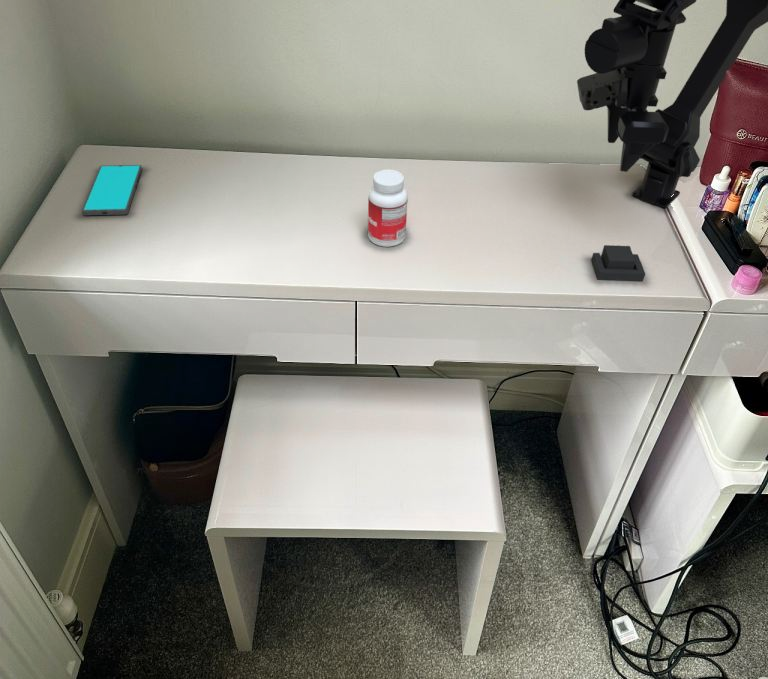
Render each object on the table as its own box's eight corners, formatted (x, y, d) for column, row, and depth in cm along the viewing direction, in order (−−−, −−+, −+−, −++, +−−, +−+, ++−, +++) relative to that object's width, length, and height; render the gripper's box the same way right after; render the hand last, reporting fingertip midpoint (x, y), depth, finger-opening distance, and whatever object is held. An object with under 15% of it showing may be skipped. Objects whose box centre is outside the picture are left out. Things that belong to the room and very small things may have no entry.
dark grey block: (599, 260, 112) (604, 244, 110) (624, 261, 112) (629, 245, 110) (604, 276, 109) (609, 260, 107) (630, 276, 109) (635, 261, 107)
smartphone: (81, 211, 116) (100, 165, 127) (82, 215, 117) (101, 169, 128) (127, 210, 117) (142, 164, 128) (128, 214, 117) (143, 169, 128)
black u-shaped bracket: (591, 260, 112) (593, 252, 111) (635, 261, 112) (637, 254, 111) (597, 279, 108) (599, 272, 107) (642, 281, 108) (645, 273, 107)
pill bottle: (366, 226, 117) (367, 167, 109) (403, 225, 117) (406, 166, 110) (369, 248, 112) (370, 188, 105) (407, 247, 113) (411, 187, 105)
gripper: (577, 32, 108) (557, 127, 119) (601, 83, 94) (576, 185, 105) (649, 34, 108) (623, 129, 119) (684, 86, 94) (651, 188, 105)
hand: (617, 156), depth 112 cm, fingers open, 9 cm apart
